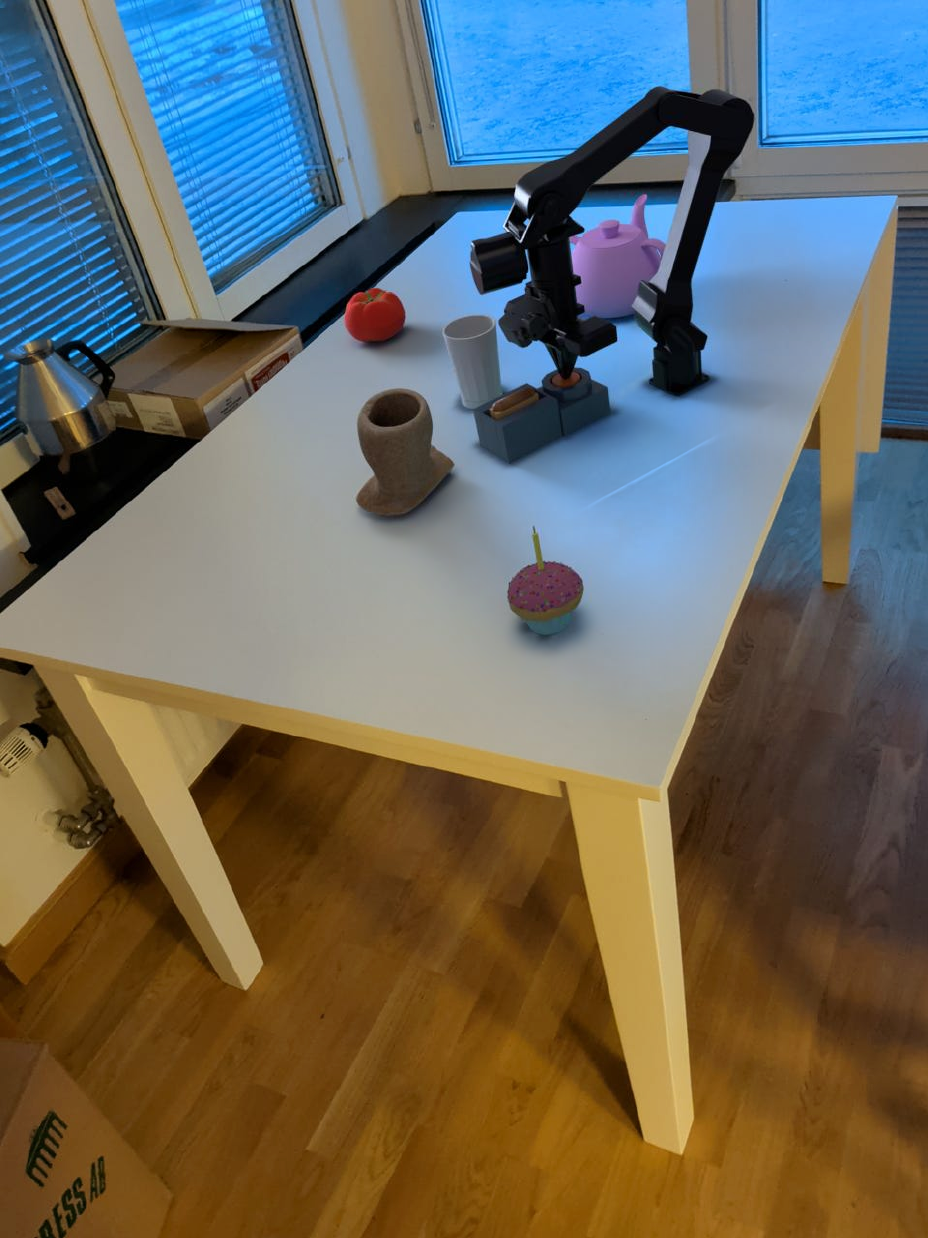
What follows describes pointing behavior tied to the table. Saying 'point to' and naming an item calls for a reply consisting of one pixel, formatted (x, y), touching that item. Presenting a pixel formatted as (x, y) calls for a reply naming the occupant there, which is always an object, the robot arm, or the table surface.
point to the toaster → (519, 427)
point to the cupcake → (545, 593)
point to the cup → (474, 358)
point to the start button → (570, 381)
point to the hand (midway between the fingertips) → (566, 377)
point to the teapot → (615, 264)
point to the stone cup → (398, 452)
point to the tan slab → (513, 403)
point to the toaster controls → (578, 400)
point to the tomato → (374, 315)
